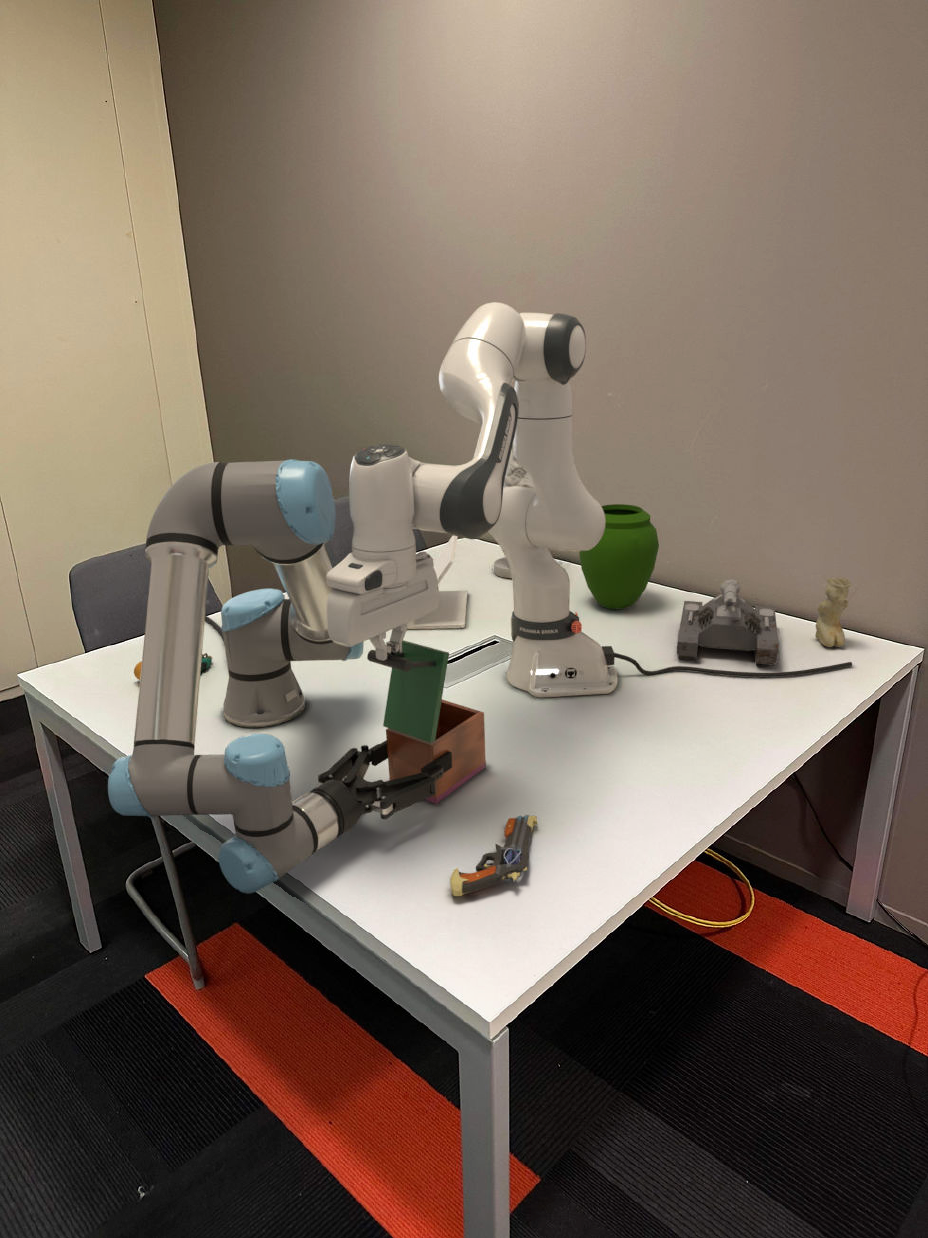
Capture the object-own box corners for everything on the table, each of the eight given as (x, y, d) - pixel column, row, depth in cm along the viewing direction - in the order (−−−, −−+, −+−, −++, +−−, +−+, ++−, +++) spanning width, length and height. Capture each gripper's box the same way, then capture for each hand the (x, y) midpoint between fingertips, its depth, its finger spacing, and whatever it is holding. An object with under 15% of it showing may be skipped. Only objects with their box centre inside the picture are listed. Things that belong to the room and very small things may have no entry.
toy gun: (445, 884, 110) (522, 883, 108) (471, 811, 128) (537, 809, 126) (448, 902, 111) (524, 902, 109) (473, 827, 129) (539, 825, 127)
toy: (682, 620, 203) (687, 559, 197) (772, 627, 197) (778, 565, 192) (675, 662, 180) (680, 595, 175) (776, 671, 174) (784, 602, 169)
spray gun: (177, 659, 191) (231, 671, 185) (120, 684, 176) (176, 698, 171) (176, 641, 190) (230, 653, 184) (118, 665, 175) (174, 678, 169)
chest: (441, 750, 148) (438, 698, 144) (485, 766, 142) (484, 712, 139) (389, 785, 138) (385, 729, 134) (435, 804, 132) (432, 746, 129)
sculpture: (821, 649, 184) (830, 583, 179) (808, 637, 191) (816, 573, 185) (848, 649, 184) (858, 582, 179) (834, 636, 191) (843, 572, 185)
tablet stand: (467, 593, 225) (465, 531, 219) (465, 628, 202) (462, 559, 196) (399, 594, 226) (395, 532, 220) (388, 629, 203) (384, 560, 197)
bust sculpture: (503, 593, 225) (502, 460, 212) (483, 567, 247) (480, 445, 234) (562, 587, 228) (563, 456, 215) (536, 562, 250) (536, 441, 237)
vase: (599, 587, 227) (601, 497, 218) (668, 600, 216) (673, 505, 208) (562, 608, 212) (564, 513, 204) (634, 623, 202) (639, 523, 193)
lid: (401, 639, 133) (363, 640, 126) (449, 652, 128) (412, 654, 121) (387, 725, 135) (349, 731, 128) (435, 742, 129) (398, 748, 122)
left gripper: (271, 813, 127) (374, 751, 143) (383, 866, 114) (481, 791, 130) (266, 768, 124) (371, 711, 141) (379, 818, 111) (480, 748, 128)
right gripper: (415, 545, 129) (418, 631, 134) (316, 577, 114) (323, 673, 118) (448, 551, 125) (450, 639, 130) (350, 585, 110) (356, 684, 115)
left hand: (424, 750), depth 136 cm, fingers closed on chest, 10 cm apart
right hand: (389, 656), depth 124 cm, fingers closed, pressing on lid
